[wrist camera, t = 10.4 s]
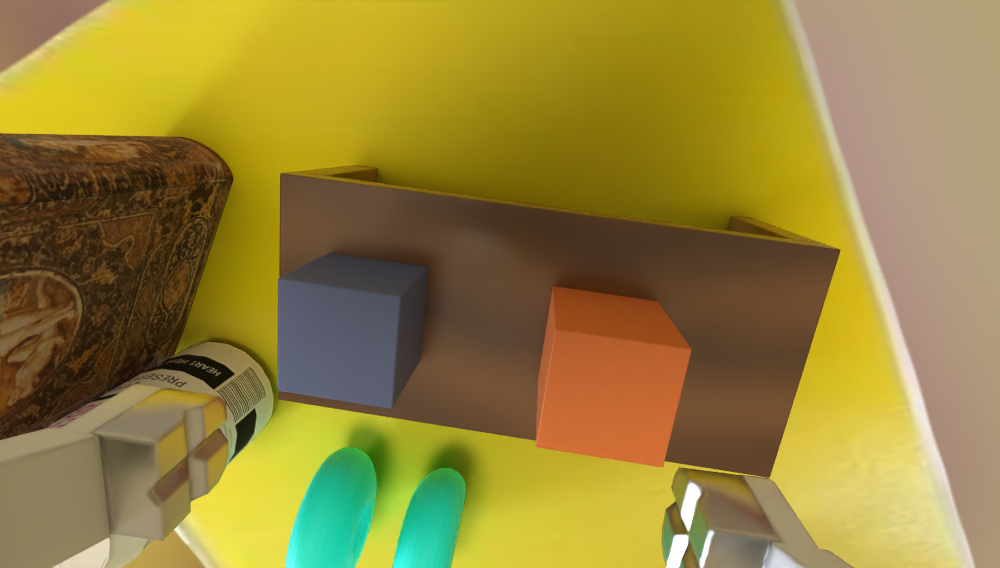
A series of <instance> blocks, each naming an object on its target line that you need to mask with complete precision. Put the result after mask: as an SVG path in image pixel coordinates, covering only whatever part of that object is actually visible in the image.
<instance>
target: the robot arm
mask: <svg viewBox="0 0 1000 568" xmlns="http://www.w3.org/2000/svg"><path fill="white" fill-rule="evenodd" d="M226 420H227V407H226V402H225V401H224V400H223V399H222V398H221V397H219V396H213V395H207V394H202V393H196V392H190V391H184V390H179V389H173V388H166V387H162V386H155V385H147V384H134V385H132V386H130V387H129V388H127V389H125V390H124V391H122V392H120V393H119V394H117V395H115V396H114V397H112V398H110V399H108V400H107V401H105V402H103V403H102V404H100V405H98V406H97V407H95V408H93V409H91V410H90V411H88V412H86V413H85V414H83V415H81V416H80V417H78V418H76V419H75V420H73V421H71V422H69V423H68V424H66V425H64V426H63V427H61V428H59V429H57V428H46V429H42V430H38V431H34V432H30V433H26V434H22V435H19V436H15V437H11V438H7V439H3V440H0V568H52V567H54V566H56V565H58V564H60V563H62V562H64V561H66V560H67V559H69V558H71V557H73V556H75V555H77V554H79V553H81V552H83V551H84V550H86V549H88V548H90V547H92V546H94V545H96V544H98V543H100V542H101V541H103V540H105V539H107V538H109V537H110V536H111V534H116V535H123V536H131V537H138V538H145V539H153V540H160V541H163V540H164V539H165V538H166V537H167V536H168V535H169V534H170V533H171V532H172V531H173V530H174V528H175V527H176V526H177V525H178V524H179V523H180V522H181V521H182V520H183V519H184V518H185V517H186V516H187V515H188V514H189V513H190V512H191V506H190V501H192V500H195V499H197V498H199V497H201V496H204V495H206V494H208V493H209V492H210V491H211V490H212V488H213V487H214V486H215V485H216V484H217V483H218V482H219V480H220V478H221V476H222V474H223V471H224V469H225V467H226V464H227V459H228V454H229V445H228V440H227V438H226V437H225V435H224V434H223V432H222V431H221V430H220V428H221V426H222V425H223V424H224V423H225V422H226ZM671 488H672V491H673V494H674V497H675V500H676V502H674V503H673V504H672V505H671V506H669V507H668V508H667V509H666V512H665V516H664V521H663V526H662V549H663V556H664V560H665V564H666V568H853V567H852V566H850V565H849V564H848V563H846V562H845V561H843V560H842V559H840V558H839V557H838V556H836V555H835V554H833V553H832V552H830V551H828V550H822V549H819V548H818V547H817V545H816V544H815V542H814V541H813V539H812V538H811V536H810V535H809V533H808V532H807V530H806V529H805V527H804V526H803V524H802V523H801V521H800V520H799V518H798V517H797V515H796V514H795V512H794V511H793V509H792V508H791V506H790V505H789V503H788V502H787V500H786V499H785V497H784V496H783V494H782V493H781V491H780V490H779V488H778V487H777V485H776V484H775V482H773V481H772V480H770V479H769V478H762V477H754V476H745V475H734V474H726V473H719V472H711V471H703V470H695V469H688V468H680V467H679V468H678V470H677V472H676V473H675V476H674V479H673V483H672V487H671Z"/></svg>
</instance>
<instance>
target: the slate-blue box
mask: <svg viewBox="0 0 1000 568" xmlns="http://www.w3.org/2000/svg"><path fill="white" fill-rule="evenodd" d="M428 270H429V269H428V267H424V266H417V265H410V264H403V263H397V262H390V261H383V260H376V259H369V258H362V257H355V256H348V255H341V254H334V253H328V254H326V255H324V256H322V257H320V258H318V259H316V260H314V261H312V262H310V263H308V264H306V265H304V266H302V267H300V268H298V269H296V270H294V271H292V272H290V273H288V274H286V275H284V276H282V277H280V278H279V279H278V375H277V390H278V391H283V392H290V393H296V394H302V395H308V396H315V397H321V398H327V399H334V400H340V401H346V402H353V403H359V404H365V405H372V406H378V407H384V408H390V409H391V408H393V406H394V405H395V403H396V401H397V399H398V398H399V396H400V394H401V393H402V391H403V389H404V387H405V386H406V384H407V382H408V381H409V379H410V377H411V375H412V374H413V372H414V370H415V369H416V367H417V365H418V363H419V362H420V358H421V347H422V336H423V325H424V314H425V303H426V292H427V281H428Z"/></svg>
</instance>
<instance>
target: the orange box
mask: <svg viewBox="0 0 1000 568" xmlns="http://www.w3.org/2000/svg"><path fill="white" fill-rule="evenodd" d="M691 351H692V350H691V348H690V346H689V345H688V344H687V342H686V341H685V339H684V338H683V337H682V335H681V334H680V332H679V331H678V330H677V328H676V327H675V325H674V324H673V323H672V321H671V320H670V318H669V317H668V316H667V314H666V313H665V311H664V310H663V308H662V307H661V306H660V304H659V303H658V302H657V301H653V300H646V299H639V298H632V297H625V296H618V295H611V294H604V293H597V292H590V291H583V290H576V289H569V288H562V287H556V286H553V289H552V295H551V301H550V308H549V314H548V320H547V326H546V333H545V339H544V345H543V351H542V358H541V364H540V370H539V376H538V393H537V422H536V447H539V448H545V449H552V450H558V451H564V452H570V453H577V454H583V455H589V456H595V457H602V458H608V459H614V460H620V461H627V462H633V463H639V464H645V465H651V466H658V467H663V465H664V461H665V457H666V453H667V449H668V445H669V441H670V436H671V432H672V428H673V424H674V420H675V416H676V412H677V408H678V404H679V400H680V396H681V392H682V387H683V383H684V379H685V375H686V371H687V367H688V363H689V359H690V355H691Z"/></svg>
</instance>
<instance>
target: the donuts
mask: <svg viewBox="0 0 1000 568" xmlns="http://www.w3.org/2000/svg"><path fill="white" fill-rule="evenodd" d="M376 492H377V478H376V472H375V468H374V465H373V463H372V461H371V459H370V458H369V456H368V455H367V454H366V453H365V452H363V451H362V450H360V449H358V448H354V447H346V448H342V449H339V450H337V451H336V452H334V453H333V454H331V455H330V456H329V457H328V458H327V459H326V460H325V461H324V462H323V464H322V465H321V466H320V468H319V469H318V471H317V472H316V474H315V476H314V477H313V479H312V481H311V483H310V485H309V487H308V489H307V491H306V494H305V496H304V498H303V501H302V503H301V505H300V508H299V511H298V514H297V517H296V520H295V523H294V526H293V529H292V534H291V537H290V541H289V546H288V551H287V557H286V566H285V568H355V567H356V565H357V563H358V560H359V558H360V555H361V553H362V550H363V547H364V544H365V542H366V539H367V535H368V532H369V528H370V525H371V521H372V516H373V512H374V507H375V501H376ZM465 495H466V485H465V481H464V479H463V477H462V476H461V474H460V473H459V472H457V471H456V470H454V469H452V468H439V469H436V470H434V471H432V472H431V473H430V474H428V475H427V476H426V477H425V478H424V479H423V480H422V481H421V483H420V484H419V485H418V487H417V488H416V490H415V492H414V494H413V496H412V498H411V501H410V503H409V506H408V508H407V511H406V515H405V518H404V521H403V525H402V528H401V532H400V536H399V539H398V544H397V548H396V552H395V557H394V562H393V567H392V568H451V565H452V560H453V555H454V550H455V546H456V541H457V536H458V531H459V527H460V522H461V516H462V511H463V506H464V501H465Z"/></svg>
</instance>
